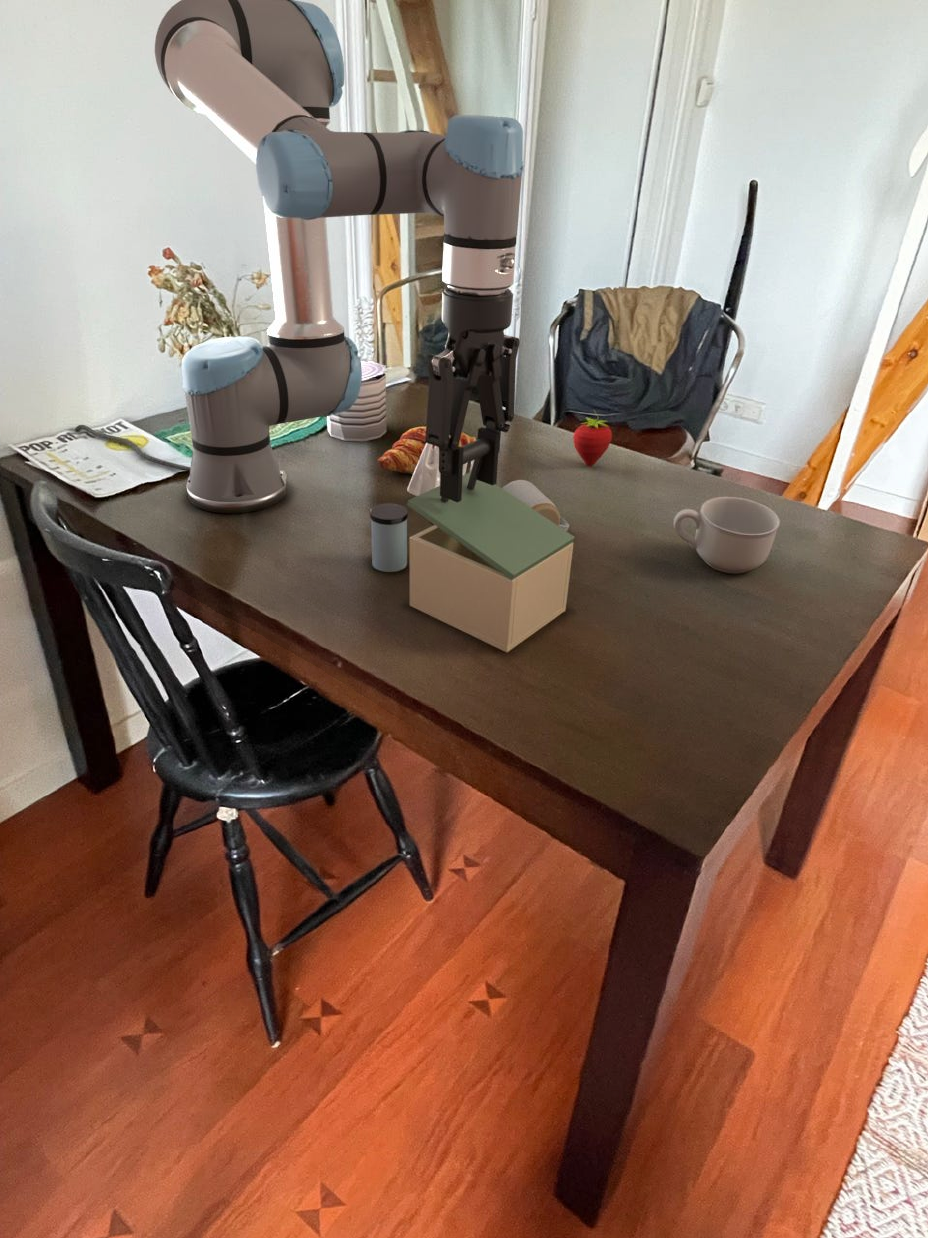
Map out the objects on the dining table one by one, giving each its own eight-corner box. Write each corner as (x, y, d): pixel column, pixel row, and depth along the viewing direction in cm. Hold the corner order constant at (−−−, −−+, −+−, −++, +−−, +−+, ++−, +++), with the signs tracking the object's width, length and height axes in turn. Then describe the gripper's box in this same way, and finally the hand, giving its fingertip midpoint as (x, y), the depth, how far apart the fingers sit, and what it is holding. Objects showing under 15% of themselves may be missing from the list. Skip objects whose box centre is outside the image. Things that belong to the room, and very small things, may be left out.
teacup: (768, 553, 121) (781, 503, 117) (765, 588, 113) (779, 536, 108) (672, 536, 125) (682, 487, 121) (662, 569, 116) (672, 517, 112)
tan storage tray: (409, 605, 106) (409, 537, 100) (471, 570, 114) (474, 505, 109) (506, 652, 98) (512, 581, 92) (565, 610, 106) (573, 542, 101)
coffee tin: (364, 566, 114) (362, 513, 110) (384, 551, 118) (383, 500, 113) (394, 575, 112) (394, 522, 108) (414, 561, 116) (414, 508, 111)
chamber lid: (407, 505, 98) (419, 449, 93) (473, 474, 107) (487, 421, 102) (511, 580, 92) (531, 524, 87) (573, 542, 101) (594, 489, 96)
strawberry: (562, 465, 147) (568, 410, 142) (591, 456, 151) (598, 402, 146) (586, 476, 143) (593, 420, 138) (615, 466, 147) (623, 412, 142)
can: (384, 442, 153) (383, 378, 147) (323, 440, 153) (319, 376, 146) (388, 421, 163) (387, 360, 156) (330, 419, 162) (327, 358, 156)
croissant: (463, 462, 155) (451, 420, 154) (497, 453, 147) (485, 408, 146) (371, 488, 143) (358, 442, 141) (403, 479, 135) (389, 430, 133)
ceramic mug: (518, 553, 118) (523, 504, 114) (490, 529, 124) (494, 482, 120) (579, 541, 123) (586, 493, 119) (549, 518, 129) (555, 472, 125)
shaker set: (405, 501, 132) (405, 435, 126) (421, 492, 135) (421, 427, 129) (468, 521, 127) (471, 453, 121) (482, 512, 130) (486, 445, 124)
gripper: (446, 306, 79) (440, 525, 91) (558, 281, 91) (539, 475, 104) (389, 293, 83) (391, 504, 95) (503, 270, 95) (492, 459, 108)
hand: (468, 489), depth 100 cm, fingers closed on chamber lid, 6 cm apart
